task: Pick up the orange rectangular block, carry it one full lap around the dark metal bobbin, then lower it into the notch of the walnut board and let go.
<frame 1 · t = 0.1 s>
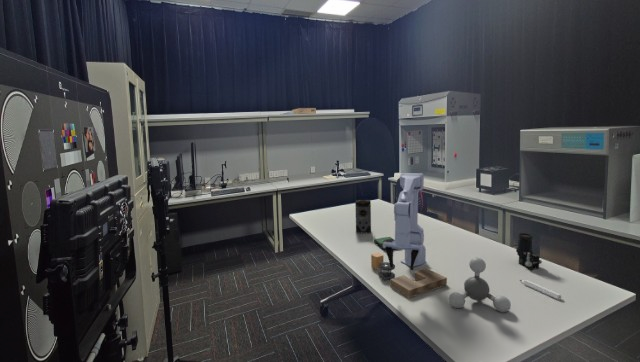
hand: (401, 268, 126), 11 cm above the table, tool pointing down, fingers open, 7 cm apart
electronic device: (363, 232, 206), on the table
marker: (537, 291, 127), on the table
notched board: (418, 285, 134), on the table
molecule model: (482, 305, 118), on the table
bobbin: (386, 276, 143), on the table
orange rectangular block: (377, 267, 153), on the table
disk drive: (387, 246, 181), on the table
scope: (525, 265, 150), on the table
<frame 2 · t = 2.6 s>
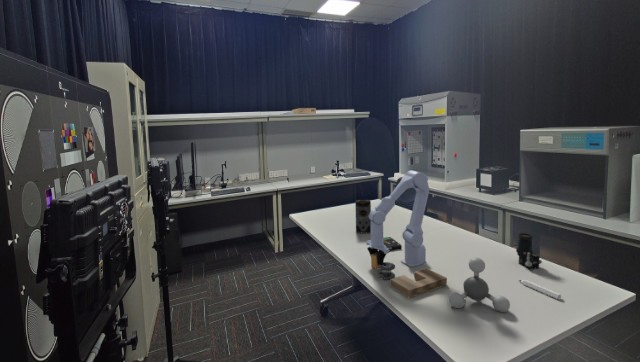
hand: (377, 263, 153), 2 cm above the table, tool pointing down, fingers closed on orange rectangular block, 4 cm apart
orange rectangular block: (377, 267, 153), on the table, touching gripper
everything else where it was.
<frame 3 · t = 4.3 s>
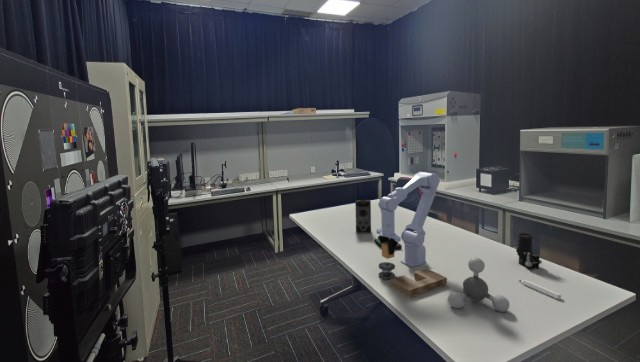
hand: (388, 252, 148), 8 cm above the table, tool pointing down, fingers closed on orange rectangular block, 4 cm apart
orange rectangular block: (388, 256, 149), point 7 cm above the table, touching gripper
everything else where it was.
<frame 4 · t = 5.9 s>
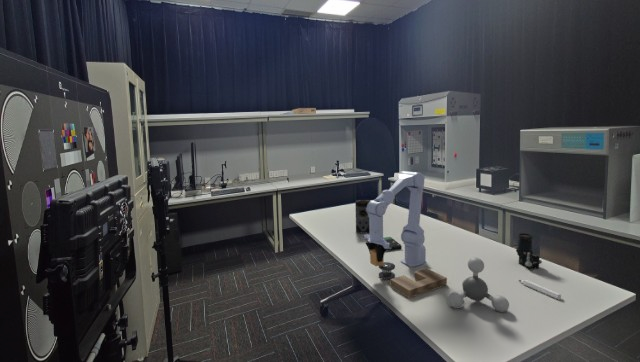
hand: (376, 259, 141), 8 cm above the table, tool pointing down, fingers closed on orange rectangular block, 4 cm apart
orange rectangular block: (376, 263, 141), point 6 cm above the table, touching gripper
everything else where it was.
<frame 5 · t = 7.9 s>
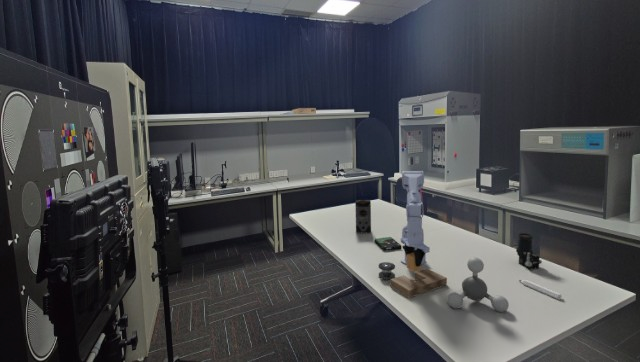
hand: (414, 263, 135), 8 cm above the table, tool pointing down, fingers closed on orange rectangular block, 4 cm apart
orange rectangular block: (413, 268, 135), point 6 cm above the table, touching gripper
everything else where it was.
when the fingers open (4 cm above the table, at t = 9.4 s): orange rectangular block drops 2 cm, on the table.
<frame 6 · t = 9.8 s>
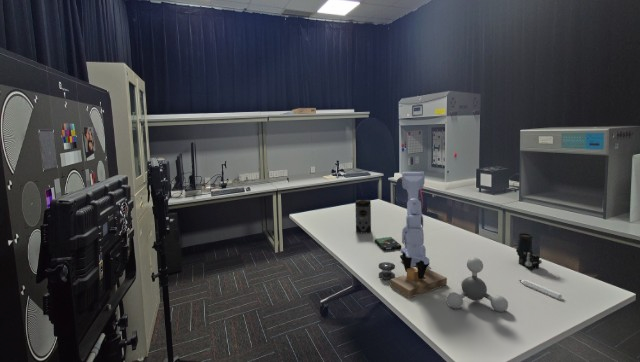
hand: (414, 274, 136), 4 cm above the table, tool pointing down, fingers open, 7 cm apart
orange rectangular block: (413, 283, 136), on the table
everything else where it was.
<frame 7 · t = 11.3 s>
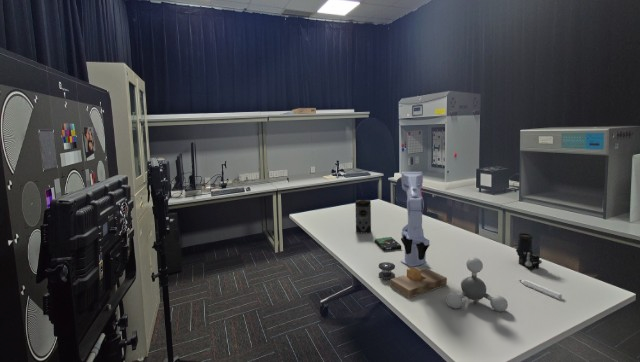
hand: (414, 256, 140), 9 cm above the table, tool pointing down, fingers open, 7 cm apart
nothing on the table moved.
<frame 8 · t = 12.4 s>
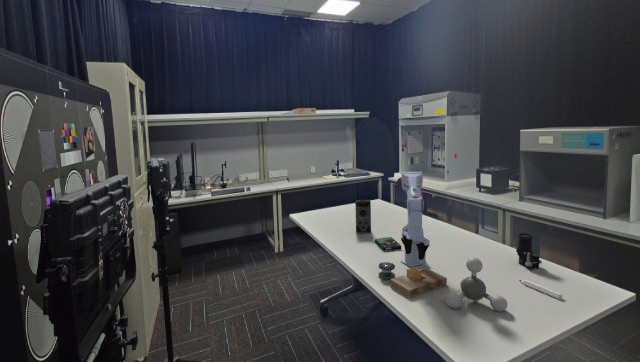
hand: (414, 256, 140), 9 cm above the table, tool pointing down, fingers open, 7 cm apart
at the end: orange rectangular block 0.2 cm from the target spot on the notched board, point 0.0 cm above the notched board's base; orange rectangular block tilted 0°; the gripper is holding nothing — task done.
